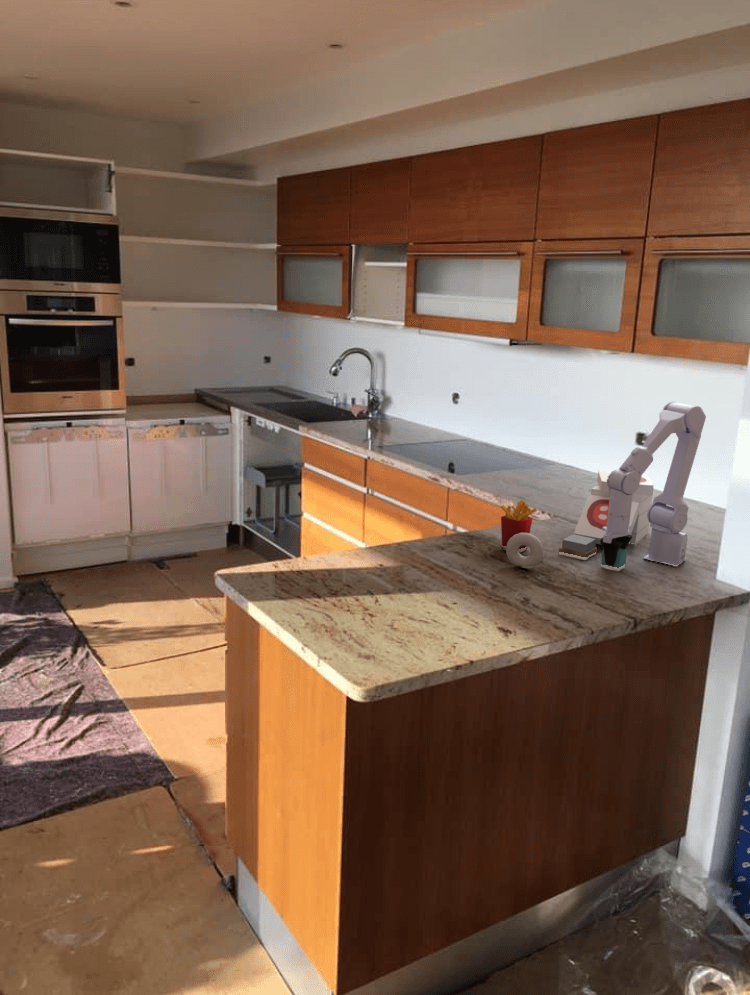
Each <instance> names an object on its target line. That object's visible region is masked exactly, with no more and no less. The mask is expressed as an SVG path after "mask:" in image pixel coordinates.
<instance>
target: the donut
mask: <svg viewBox="0 0 750 995" xmlns="http://www.w3.org/2000/svg"><path fill="white" fill-rule="evenodd" d="M522 545H526V546H527V547H528V548H529V549H530V550H529V551H530V553H529V555H527V556H525V555H522V554H521V553H519V547H520V546H522ZM505 552H506V555H507V559H508V560H509V561H510V563H511V564H512V563H514V564H518V565H523V566H535V567H536V566H537V565H539V564H540V563H541V561H542V560H543V556H544V546H543V545H542V542H541V540H540V539H539V538H538V537H537V536H535V535H534V534H532V533H518V534H515V535H514V536H513V537H511V538H510V540H509V541H508V543H507V547H506V551H505Z"/></svg>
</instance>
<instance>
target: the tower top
mask: <svg viewBox="0 0 750 995" xmlns="http://www.w3.org/2000/svg"><path fill="white" fill-rule="evenodd" d="M595 543H596V539H593V538H588V537H584V536H579V535H575V534H574V533H572V534H570V535H569V536H567V537H565V538H562V543H561V544H562V545H561V547H562V548H564V549H569V550H573V551H577V552H582V553H587V552H588V551H590V550H592V549H593V548H595V547H596V544H595Z"/></svg>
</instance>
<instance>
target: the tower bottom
mask: <svg viewBox="0 0 750 995" xmlns="http://www.w3.org/2000/svg"><path fill="white" fill-rule="evenodd" d="M597 551H598V548H597V547H596V546H595V548H593V549H592V550H590V551H588V552H587V553H582V552H577V551H573V550H569V549H564V548H562V546H560V547H558V553H559V552H564V553H568V554H573V555H577V556H581V557H588V556H589V555H591V554H593V553H595V552H597ZM597 553H598V552H597Z"/></svg>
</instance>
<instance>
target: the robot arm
mask: <svg viewBox="0 0 750 995" xmlns="http://www.w3.org/2000/svg"><path fill="white" fill-rule="evenodd" d="M706 418H707V416H706V414H705V412H704V409H703V408H702V407H701V406H698V405H690V404H685V403H680V402H676V401H669V402H667V403H666V404H665V405H664V407H663V409H662V410H661V411H660V412H659V420H658V422H657V423H656V425H655V426H654V428H653V430H652V431H651V433H650V434H649V435H648V437H647V439H646V440H645V441H644V442H643V444H642V446H638V447H634V449H633V450H632V451H631V452H630V454H629V456H628V457H627V458H626V459H625V460H624V461H623V463H622V464H621V466H620V467H619V468H616V469H614V470H613V471H610V472H611V473H610V475H609V478H608V479H607V485H608V487H609V494H610V502H609V511H608V520H607V527H603V528H602V530H603V531H605V535H604V537H603V538H601V539H600V543H601V547H602V551H603V550H604V556H605V563H606V565H610V566H614V564H615V561H616V557H617V553H618V551H619V548H621V549H625V550H627V547H628V545H629V544H628V543H629V542H630V540H631V539H632V535H629V532H630V525H629V522H630V514H631V505H632V497H633V493H634V492H635V491H636V490H637V489H638V487H639V484H640V480H641V478H642V474H644V473H645V472H646V471H647V469H648V468H649V467H650V465H651V464H652V463H653V461H654V453H656V451H657V450H658V449H659V448H660V447H661V445H663V443H665V441H666V440H667V439H668V438H669V437H670V436H671V435H672V434H675V436H676V437H677V438H678V439H677V442H676V446H675V448H674V453H673V456H672V460H671V464H670V468H669V471H668V473H667V476H666V481H665V484H664V487H663V491H662V493H660V494H659V495H657V496H655V497H654V498H653V500H652V504H651V506H650V508H649V510H648V513H647V518H648V521H649V527H651V533H650V535H651V536H650V542H649V548H648V554H647V555H645V556H644V557H643V558H644V559H646V558H647V559H649V560H653V561H658V562H666V563H670V564H674V565H678V564H680V563H681V564H683V563H684V562H685V561H686V554H687V553H686V552H687V546H688V534H687V533H685V532H682V531H683V530H684V529H685V527H686V526H687V523H688V511H689V509H690V508H689V506H688V504H687V502H686V501H685V500H684V495H685V491H686V488H687V486H688V481H689V478H690V476H691V471H692V468H693V464H694V460H695V458H696V455H697V452H698V447H699V444H700V441H701V437H702V432H703V429H704V425H705V422H706ZM644 559H643V560H644ZM684 560H685V561H684ZM683 561H684V562H683ZM681 564H680V565H681Z"/></svg>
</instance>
